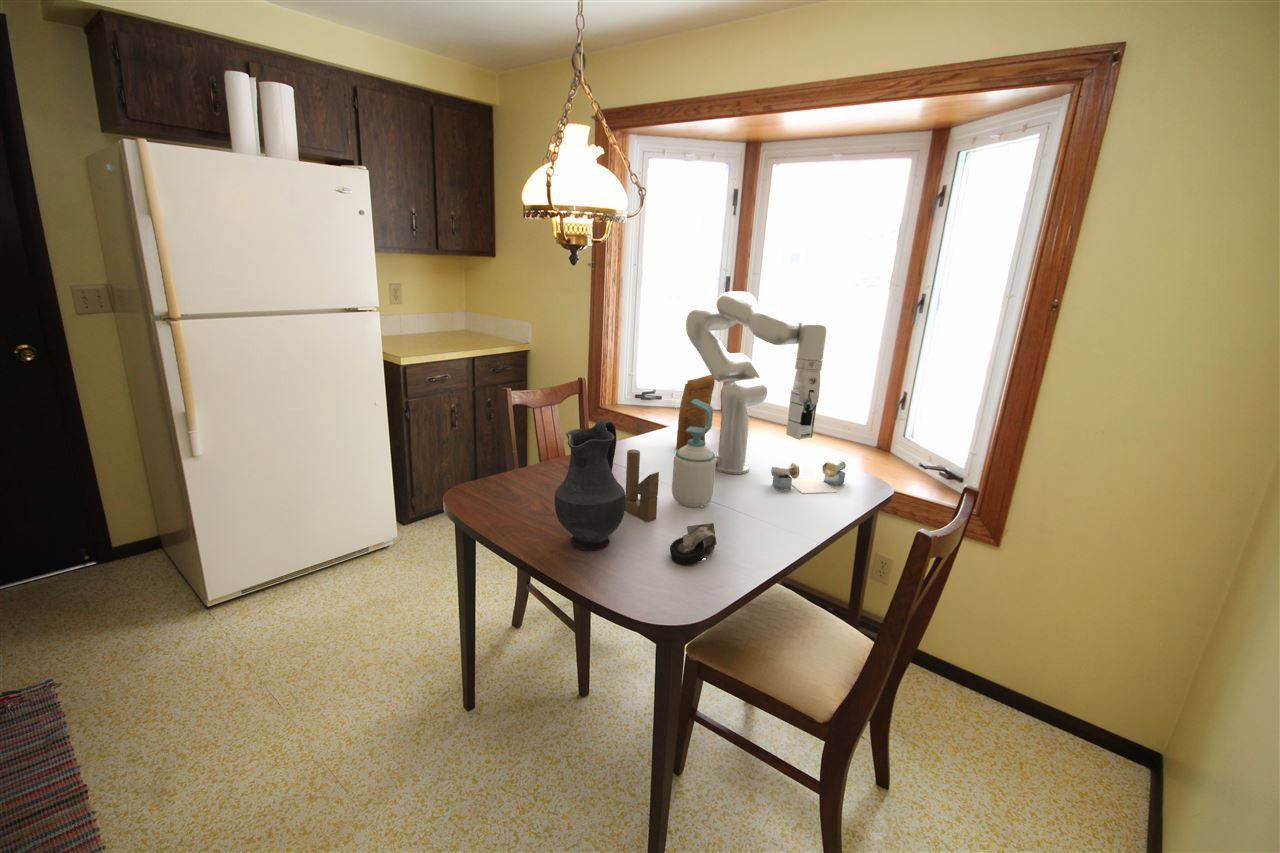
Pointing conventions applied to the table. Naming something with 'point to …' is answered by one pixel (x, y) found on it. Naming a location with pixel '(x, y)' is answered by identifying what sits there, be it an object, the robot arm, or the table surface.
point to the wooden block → (640, 490)
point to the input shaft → (784, 476)
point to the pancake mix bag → (693, 408)
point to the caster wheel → (694, 545)
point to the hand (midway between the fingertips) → (800, 421)
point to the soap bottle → (695, 466)
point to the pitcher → (591, 488)
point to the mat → (811, 486)
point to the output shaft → (834, 472)
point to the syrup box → (798, 418)
